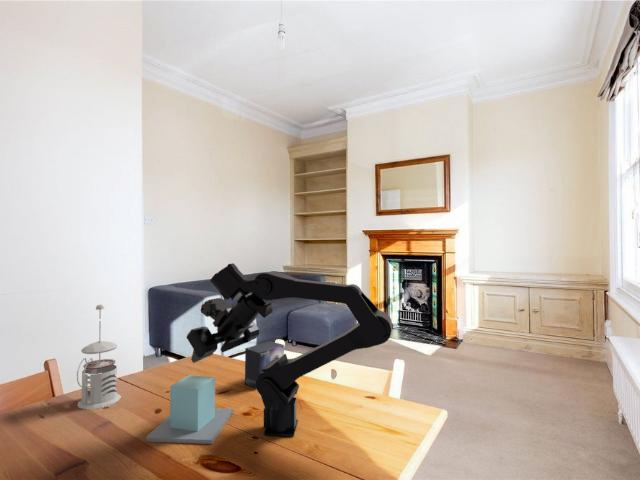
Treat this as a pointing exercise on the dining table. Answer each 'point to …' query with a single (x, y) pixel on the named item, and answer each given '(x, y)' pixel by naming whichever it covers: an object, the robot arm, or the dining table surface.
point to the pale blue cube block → (192, 402)
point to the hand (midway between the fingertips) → (207, 355)
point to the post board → (187, 436)
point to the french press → (98, 376)
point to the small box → (260, 359)
